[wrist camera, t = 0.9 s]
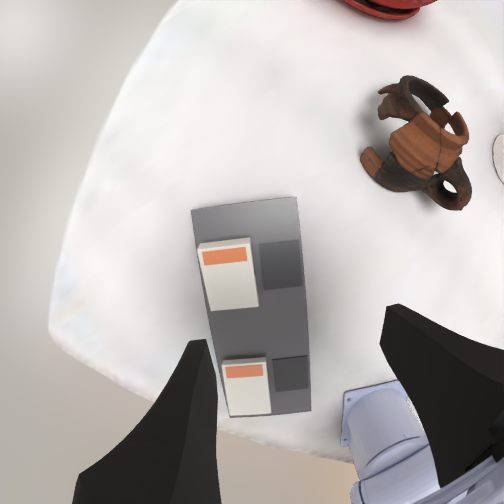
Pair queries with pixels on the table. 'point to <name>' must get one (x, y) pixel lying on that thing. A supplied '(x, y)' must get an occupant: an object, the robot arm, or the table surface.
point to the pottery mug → (421, 145)
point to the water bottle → (499, 155)
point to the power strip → (264, 298)
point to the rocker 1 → (229, 274)
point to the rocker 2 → (247, 386)
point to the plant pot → (390, 7)
